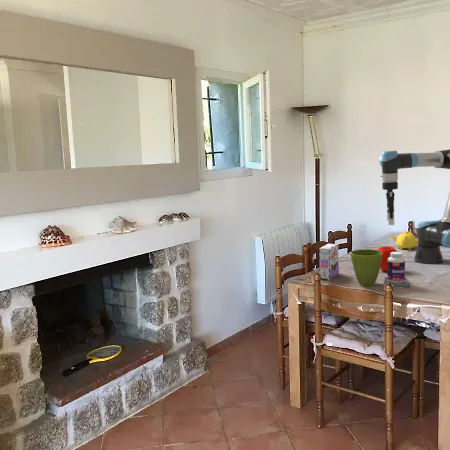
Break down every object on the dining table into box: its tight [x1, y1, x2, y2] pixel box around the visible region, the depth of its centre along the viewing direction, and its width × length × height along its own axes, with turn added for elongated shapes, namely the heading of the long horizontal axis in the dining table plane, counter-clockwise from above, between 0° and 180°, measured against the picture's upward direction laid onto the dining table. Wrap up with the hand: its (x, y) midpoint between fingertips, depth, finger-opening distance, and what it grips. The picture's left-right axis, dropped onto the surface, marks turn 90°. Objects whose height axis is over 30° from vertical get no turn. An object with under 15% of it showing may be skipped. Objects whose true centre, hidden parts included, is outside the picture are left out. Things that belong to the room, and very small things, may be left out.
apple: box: [377, 246, 398, 272], centre depth 271 cm, size 12×12×13 cm
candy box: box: [318, 243, 340, 281], centre depth 265 cm, size 14×6×16 cm, turn 148°
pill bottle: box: [386, 251, 406, 283], centre depth 245 cm, size 8×8×14 cm
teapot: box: [390, 230, 418, 251], centre depth 324 cm, size 20×18×11 cm
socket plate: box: [383, 276, 410, 289], centre depth 246 cm, size 11×11×2 cm
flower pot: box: [350, 248, 382, 287], centre depth 248 cm, size 15×15×16 cm
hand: (390, 222), depth 261 cm, fingers open, 13 cm apart
